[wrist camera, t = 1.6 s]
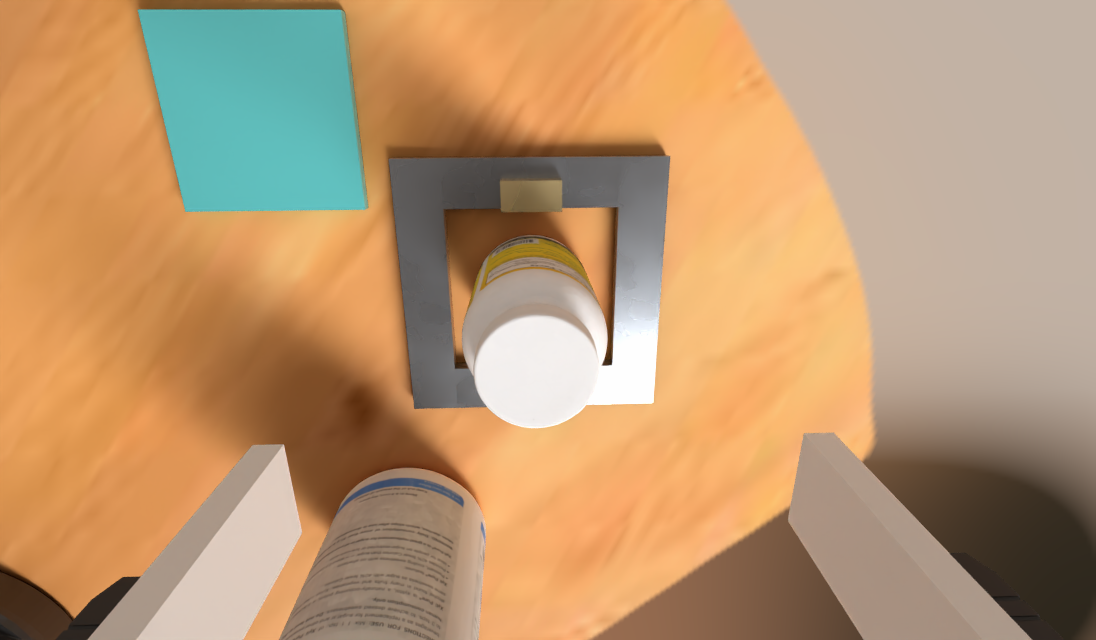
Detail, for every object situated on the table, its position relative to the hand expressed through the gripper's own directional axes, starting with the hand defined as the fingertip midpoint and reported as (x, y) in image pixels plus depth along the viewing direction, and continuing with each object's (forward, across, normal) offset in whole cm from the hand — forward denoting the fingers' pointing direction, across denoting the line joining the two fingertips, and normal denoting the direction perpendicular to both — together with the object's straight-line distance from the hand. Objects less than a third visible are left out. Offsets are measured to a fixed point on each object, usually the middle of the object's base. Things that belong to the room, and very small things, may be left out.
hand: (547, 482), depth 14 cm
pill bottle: (+18, 0, 0) cm, 18 cm away
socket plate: (+17, 0, 0) cm, 17 cm away
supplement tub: (+18, +8, +16) cm, 25 cm away
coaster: (+17, +13, -9) cm, 23 cm away
